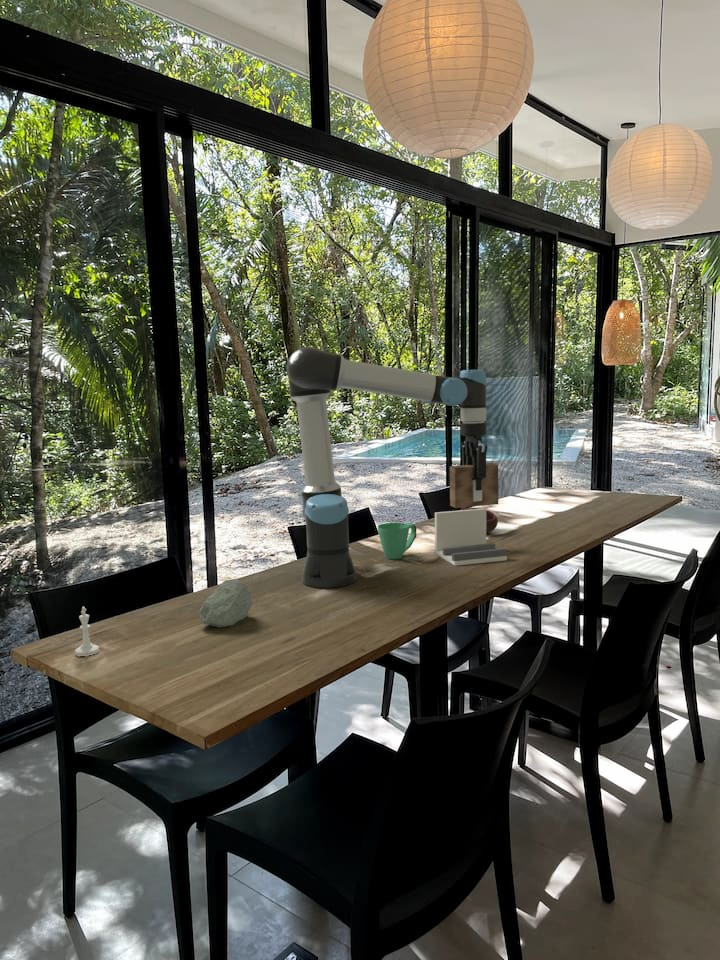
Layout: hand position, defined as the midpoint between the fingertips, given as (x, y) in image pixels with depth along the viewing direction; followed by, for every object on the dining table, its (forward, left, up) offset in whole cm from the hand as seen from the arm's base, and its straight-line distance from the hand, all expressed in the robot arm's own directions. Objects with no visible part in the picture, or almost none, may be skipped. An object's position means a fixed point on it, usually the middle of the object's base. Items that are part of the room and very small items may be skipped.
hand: (474, 499), depth 215 cm
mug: (-20, +12, -19) cm, 30 cm away
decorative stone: (-78, -30, -19) cm, 86 cm away
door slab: (0, 0, -2) cm, 2 cm away
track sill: (0, +3, -19) cm, 19 cm away
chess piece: (-108, -39, -19) cm, 116 cm away
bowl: (+16, +33, -19) cm, 41 cm away
